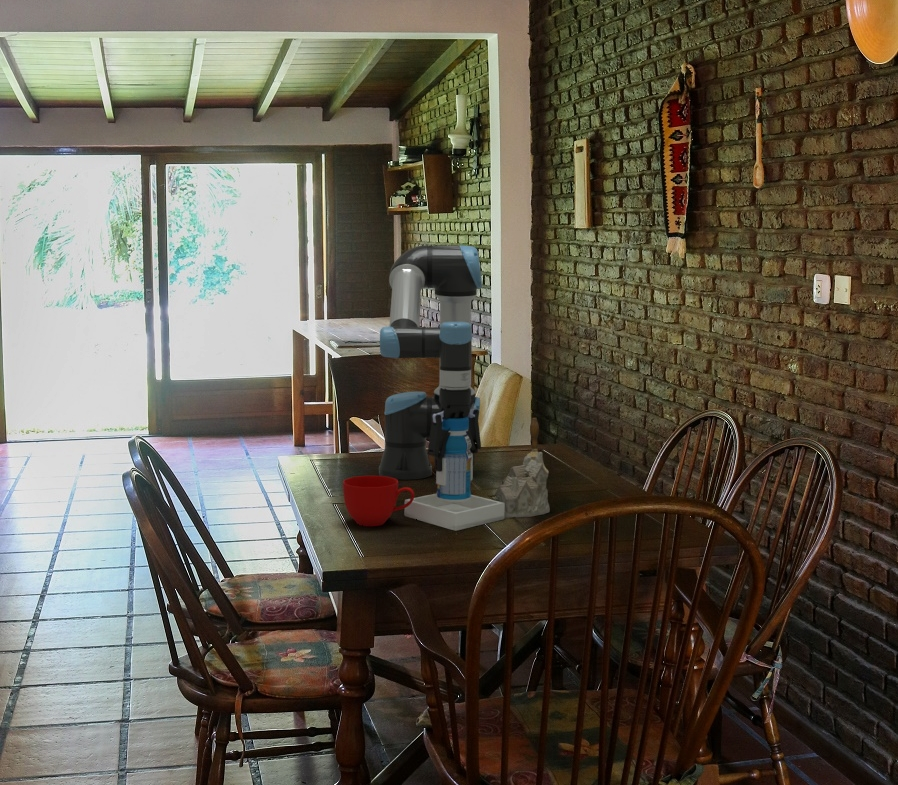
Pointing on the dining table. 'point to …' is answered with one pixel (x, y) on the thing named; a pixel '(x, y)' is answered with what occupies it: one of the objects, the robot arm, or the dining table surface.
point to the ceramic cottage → (525, 489)
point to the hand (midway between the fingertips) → (454, 481)
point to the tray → (455, 511)
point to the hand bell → (534, 440)
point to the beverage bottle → (456, 462)
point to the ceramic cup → (372, 498)
